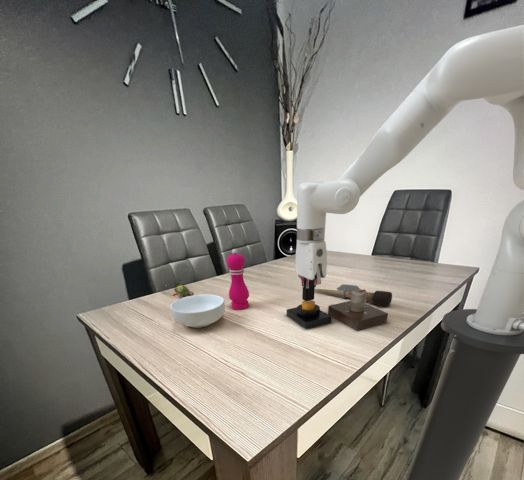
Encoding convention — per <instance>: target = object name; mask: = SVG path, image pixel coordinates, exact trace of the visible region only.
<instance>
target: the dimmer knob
mask: <svg viewBox="0 0 524 480" xmlns="http://www.w3.org/2000/svg"><path fill="white" fill-rule="evenodd" d="M367 292H368V291H367V290H366V289H364V288H363V289H361V290H353V291H352V292H351V298H350V300H349V301H350V310H351V311H354V312H362V311H364V310H365V304H367V301H366V297H367Z"/></svg>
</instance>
